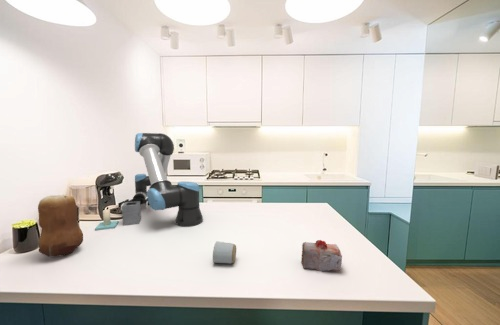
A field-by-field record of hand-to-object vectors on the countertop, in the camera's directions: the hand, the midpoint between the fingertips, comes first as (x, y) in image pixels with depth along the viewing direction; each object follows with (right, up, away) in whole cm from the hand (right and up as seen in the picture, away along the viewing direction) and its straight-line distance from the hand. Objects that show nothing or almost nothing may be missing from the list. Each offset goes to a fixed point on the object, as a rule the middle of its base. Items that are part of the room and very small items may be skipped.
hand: (134, 207), depth 132 cm
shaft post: (-8, -8, -13) cm, 17 cm away
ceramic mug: (+61, -11, -46) cm, 77 cm away
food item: (+97, -12, -51) cm, 110 cm away
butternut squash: (-7, -11, -42) cm, 44 cm away
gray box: (+3, -7, -7) cm, 11 cm away
